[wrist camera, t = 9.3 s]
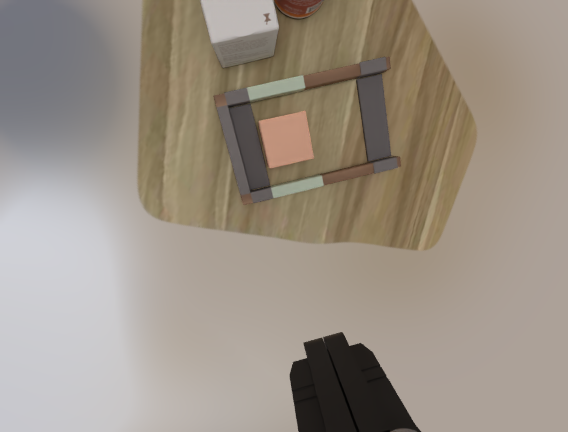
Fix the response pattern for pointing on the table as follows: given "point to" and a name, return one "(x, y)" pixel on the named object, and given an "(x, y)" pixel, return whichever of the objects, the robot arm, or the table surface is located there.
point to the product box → (241, 29)
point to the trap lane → (241, 119)
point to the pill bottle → (298, 7)
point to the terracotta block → (286, 139)
